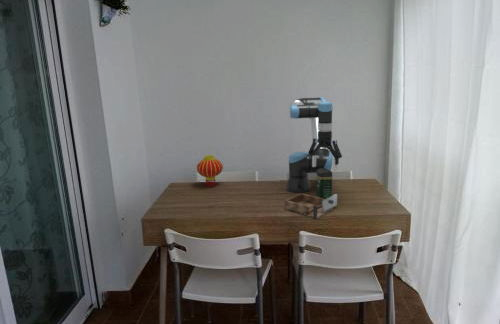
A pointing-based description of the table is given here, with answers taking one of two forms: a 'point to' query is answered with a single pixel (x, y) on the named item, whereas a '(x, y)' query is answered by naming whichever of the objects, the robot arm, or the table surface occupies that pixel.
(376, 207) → the table surface
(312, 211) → the open wooden box
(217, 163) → the lantern
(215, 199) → the table surface
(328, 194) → the coffee jar
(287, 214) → the table surface
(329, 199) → the grey flat panel
